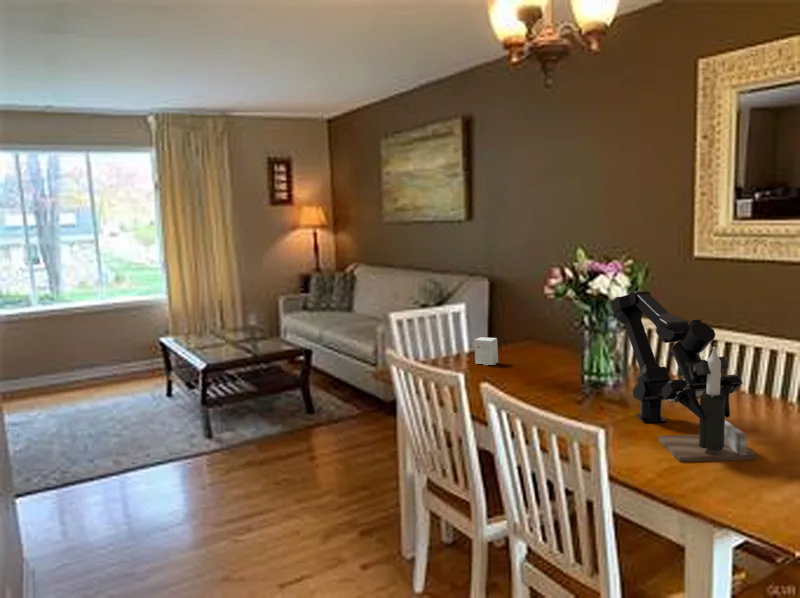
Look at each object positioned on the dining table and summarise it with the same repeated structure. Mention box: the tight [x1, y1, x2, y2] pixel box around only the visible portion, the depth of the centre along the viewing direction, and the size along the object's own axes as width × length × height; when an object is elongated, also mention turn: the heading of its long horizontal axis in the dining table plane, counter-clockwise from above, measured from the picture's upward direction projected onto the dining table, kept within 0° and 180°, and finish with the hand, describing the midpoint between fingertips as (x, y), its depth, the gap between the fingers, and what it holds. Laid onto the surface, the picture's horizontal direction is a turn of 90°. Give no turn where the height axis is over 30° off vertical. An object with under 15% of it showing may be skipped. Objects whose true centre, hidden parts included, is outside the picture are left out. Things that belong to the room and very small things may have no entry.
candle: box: [698, 346, 726, 451], centre depth 146 cm, size 5×5×25 cm
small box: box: [474, 336, 499, 366], centre depth 247 cm, size 8×6×10 cm
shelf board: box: [657, 419, 757, 463], centre depth 152 cm, size 14×18×6 cm
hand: (715, 418), depth 145 cm, fingers closed on candle, 6 cm apart
